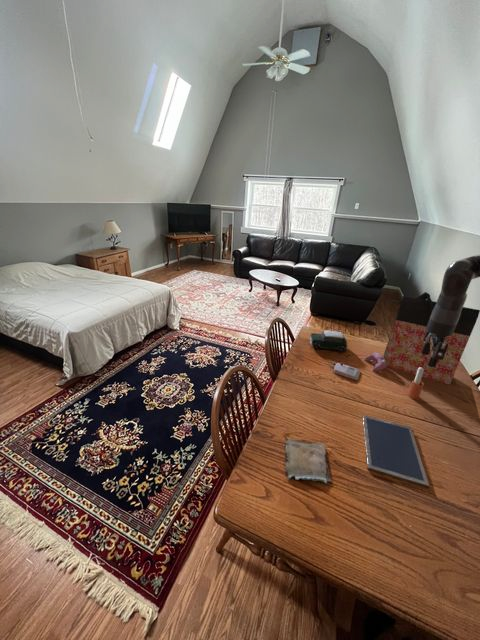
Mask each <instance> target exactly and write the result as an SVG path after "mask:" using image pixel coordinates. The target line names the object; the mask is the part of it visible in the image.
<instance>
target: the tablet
mask: <svg viewBox="0 0 480 640" xmlns="http://www.w3.org/2000/svg"><path fill="white" fill-rule="evenodd" d="M361 420H362V429H363V440H364V450H365V458H366V459H365V460H366V469H367V470H368V471H371V472H375V473H377V474H381V475H384V476H388V477H391V478H394V479H397V480H401V481H404V482H408V483H410V484H413V485H417V486H421V487H424V488H427V489H429V488H430V484H429V480H428V477H427V473H426V471H425V468H424V464H423V461H422V457H421V455H420V451H419V448H418V445H417V442H416V439H415V435H414V433H413V429H412V427H411V426H407V425H404V424H400V423H395V422H392V421H388V420H385V419H380V418H377V417H373V416H368V415H365V414H362V419H361Z"/></svg>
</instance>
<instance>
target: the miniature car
mask: <svg viewBox="0 0 480 640" xmlns="http://www.w3.org/2000/svg"><path fill="white" fill-rule="evenodd" d="M309 344H310V345H311V346H312V348H313V349H314V350H319V348H322V349H331V350H338V352H339V353H344V352H345V351H346V350H347V349H348V341H347V339H346V337H345V335H344V333H343V332H340V331H338V330H337V331H336V330H328V329H325V330H323V331H322V332H321V333H310V337H309Z"/></svg>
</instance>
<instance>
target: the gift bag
mask: <svg viewBox="0 0 480 640" xmlns="http://www.w3.org/2000/svg"><path fill="white" fill-rule="evenodd" d="M436 303H437V301H433V300H432V298H431V295H430V293H428V292H427V291H425V292H422V294H420V295H419V296H417V297H412V296H406V295H403V296H402V299H401V301H399V300H396V299H392V301H391V304H400V305H399V308H398V311H397V314H396V317H395V321H394V322H393V325H392V329H391V332H390V335H389V338H388V341H387V344H386V347H385V350H384V353H383V355H382V356H383V357H384V358H385V360H386V362H387V366H386V367H389V368H392V369H396V370H398V371H403V372H405V373H408V374H412V375H416V374H417V371H418V368H419V367H422V368H423V369H424V371H423V374H422V378H426V379H429V380H433V381H435V382H439V383H443V384H446V385H451V384H452V381H453V379H454V376H455V374H456V372H457V368H458V366H459V364H460V361H461V359H462V356H463V354H464V352H465V349H466V347H467V344H468V343H469V339H470V337H471V335H472V333H473V331H474V328H475V326H476V323H477V320H478V318H479V315H480V309H476V308H471V307H465V306H463V308H462V311H461V315H460V318H459V320H458V323H457V325H456V327H455V330H454V332H453V334H452V335H451V336H447V337H445V343H448V348H447V350H446V353H445V355H444V358H443V360H440V359H439V360H438V362H437V365H436V367H429V366H428V362H429V360H430V357H431V352H432V351H431V350H430V352H429V354H428V355H424V354H422V353H421V352H422V349H423V347H424V345H425V344H424V341H423V338H424V335H425V333H426V330H427V325H428V322H429V319H430V316H431V314H432V311H433V309H434V307H435V305H436ZM434 348H435V347H434ZM441 354H442V353H441Z"/></svg>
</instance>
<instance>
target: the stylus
mask: <svg viewBox="0 0 480 640" xmlns="http://www.w3.org/2000/svg"><path fill="white" fill-rule="evenodd" d="M423 371H424V369H423V368H422V367H419V368H418V371H417V374H415V378H414V380H415V381H414V382H415V383H416V384H418V385H419V384H420V381H422V378H423V377H422V374H423Z"/></svg>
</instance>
